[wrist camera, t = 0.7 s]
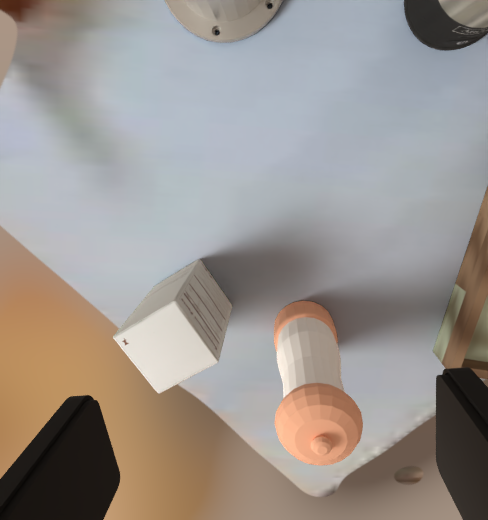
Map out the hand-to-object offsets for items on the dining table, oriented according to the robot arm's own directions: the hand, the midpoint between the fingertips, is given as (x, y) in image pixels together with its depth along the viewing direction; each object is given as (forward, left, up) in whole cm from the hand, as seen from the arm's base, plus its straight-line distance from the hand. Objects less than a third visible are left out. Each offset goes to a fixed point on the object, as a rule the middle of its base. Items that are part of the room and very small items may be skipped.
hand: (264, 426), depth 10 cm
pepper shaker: (+14, +6, -33) cm, 36 cm away
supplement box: (+12, -8, -33) cm, 36 cm away
